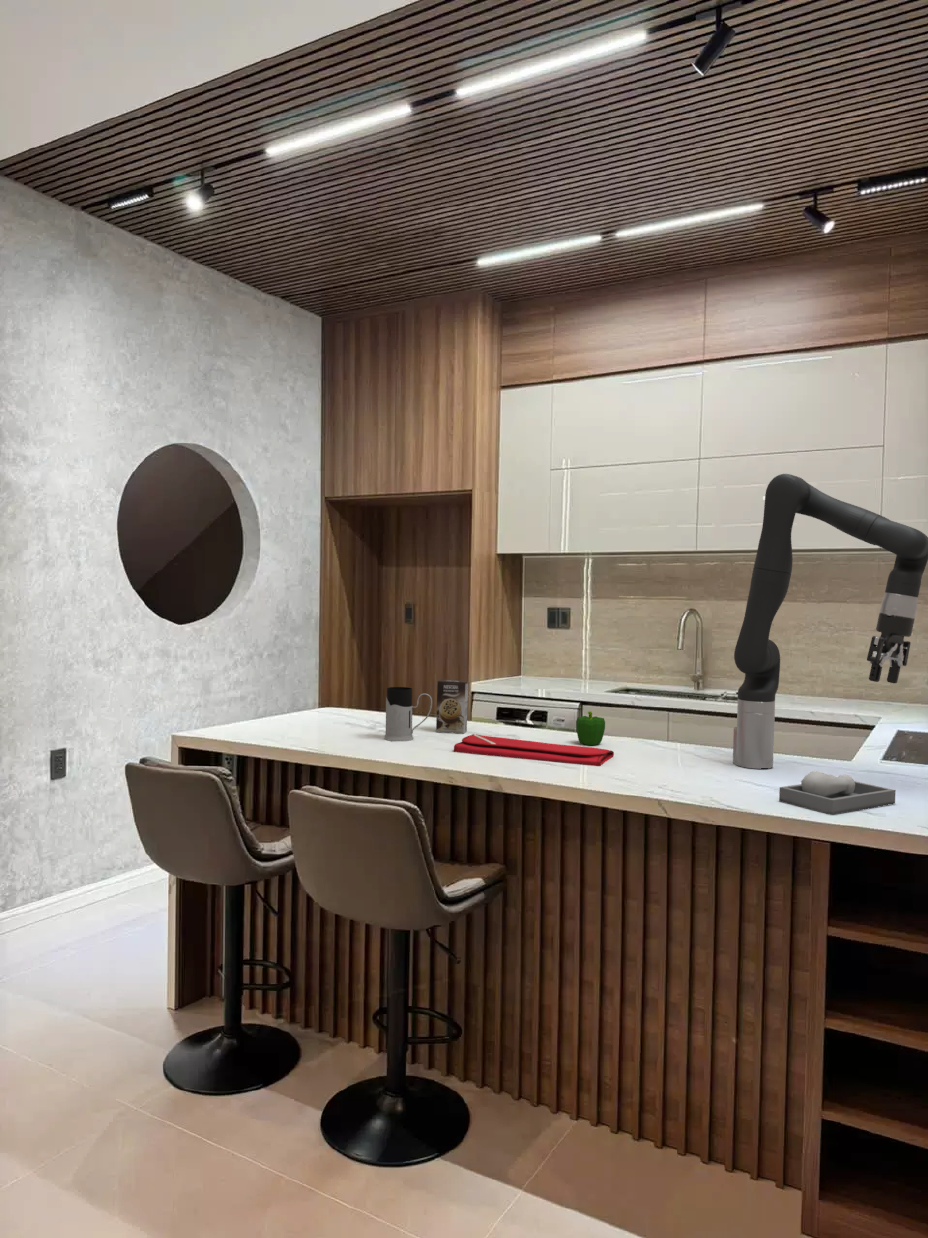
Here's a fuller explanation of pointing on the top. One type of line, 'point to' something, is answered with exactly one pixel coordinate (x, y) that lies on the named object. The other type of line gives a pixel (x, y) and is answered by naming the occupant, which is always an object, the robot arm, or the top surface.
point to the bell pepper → (590, 729)
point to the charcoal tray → (839, 798)
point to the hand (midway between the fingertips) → (882, 682)
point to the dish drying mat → (532, 750)
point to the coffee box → (452, 706)
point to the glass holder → (400, 714)
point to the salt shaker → (827, 784)
